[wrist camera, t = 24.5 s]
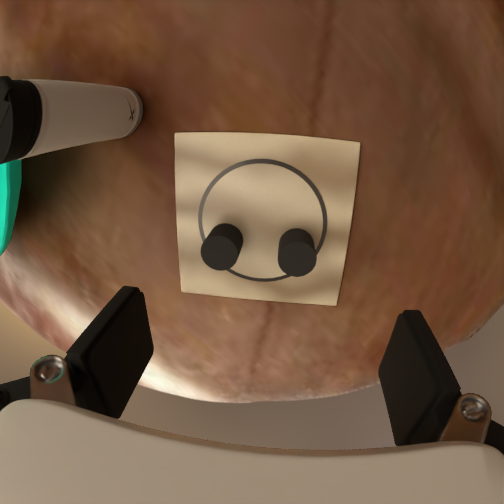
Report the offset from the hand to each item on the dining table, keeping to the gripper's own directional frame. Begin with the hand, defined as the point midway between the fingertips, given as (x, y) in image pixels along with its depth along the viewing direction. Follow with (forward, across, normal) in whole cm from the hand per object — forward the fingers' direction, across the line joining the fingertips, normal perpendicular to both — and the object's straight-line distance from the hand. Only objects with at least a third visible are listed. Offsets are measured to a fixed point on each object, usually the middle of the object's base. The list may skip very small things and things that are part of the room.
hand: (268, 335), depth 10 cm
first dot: (+24, +6, +6) cm, 25 cm away
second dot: (+24, -2, +6) cm, 25 cm away
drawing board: (+24, +2, +4) cm, 25 cm away
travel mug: (+24, +19, -9) cm, 32 cm away
